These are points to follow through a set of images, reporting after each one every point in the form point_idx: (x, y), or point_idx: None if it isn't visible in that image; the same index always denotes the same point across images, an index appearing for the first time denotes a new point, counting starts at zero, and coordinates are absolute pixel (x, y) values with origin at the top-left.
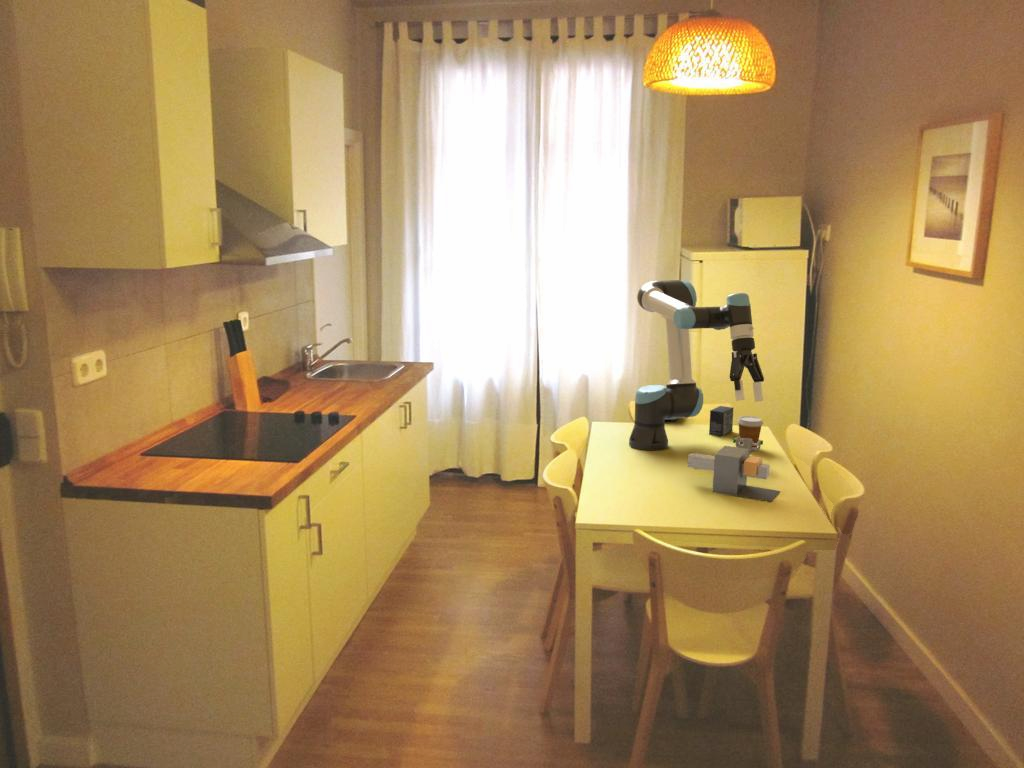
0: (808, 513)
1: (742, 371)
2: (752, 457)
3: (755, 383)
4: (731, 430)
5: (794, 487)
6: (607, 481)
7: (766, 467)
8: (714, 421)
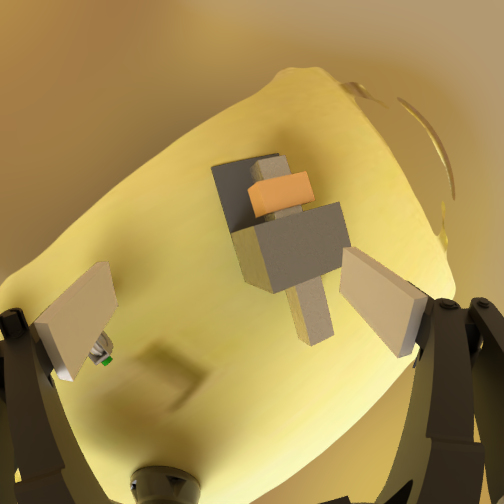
0: (277, 95)
1: (442, 358)
2: (273, 200)
3: (67, 356)
4: None
5: (160, 161)
6: (367, 391)
7: (285, 156)
8: (15, 456)
